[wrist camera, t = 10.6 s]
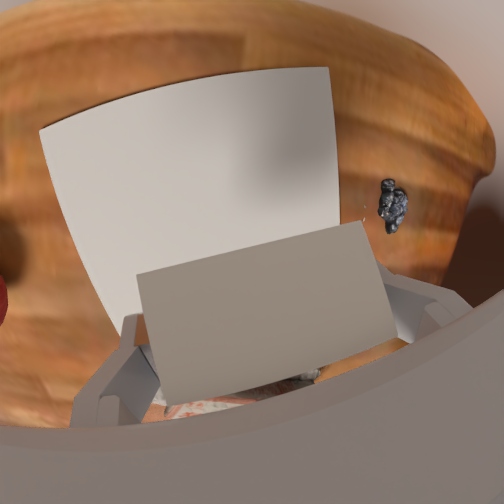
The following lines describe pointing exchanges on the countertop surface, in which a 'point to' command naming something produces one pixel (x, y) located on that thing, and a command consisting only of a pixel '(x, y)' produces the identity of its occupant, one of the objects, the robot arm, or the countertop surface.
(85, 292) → the countertop surface
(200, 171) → the rubber mat
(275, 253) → the card box
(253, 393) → the packaged product
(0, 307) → the onion
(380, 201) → the blueberries
